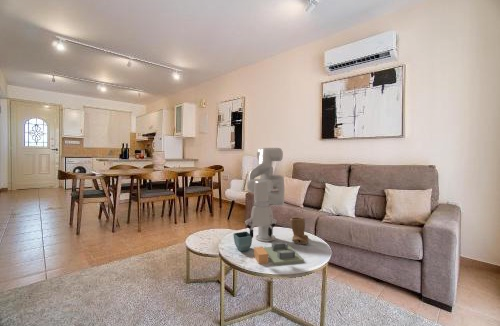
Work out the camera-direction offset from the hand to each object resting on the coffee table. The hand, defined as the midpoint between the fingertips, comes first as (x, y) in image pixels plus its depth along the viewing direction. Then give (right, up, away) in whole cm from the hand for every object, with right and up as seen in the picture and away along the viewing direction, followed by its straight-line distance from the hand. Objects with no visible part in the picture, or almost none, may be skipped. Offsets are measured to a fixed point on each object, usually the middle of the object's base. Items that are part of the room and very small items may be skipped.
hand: (260, 236), depth 132 cm
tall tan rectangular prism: (0, -13, +1) cm, 13 cm away
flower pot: (-10, -12, +14) cm, 21 cm away
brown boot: (+26, -12, +29) cm, 41 cm away
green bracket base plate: (+12, -12, +6) cm, 18 cm away
